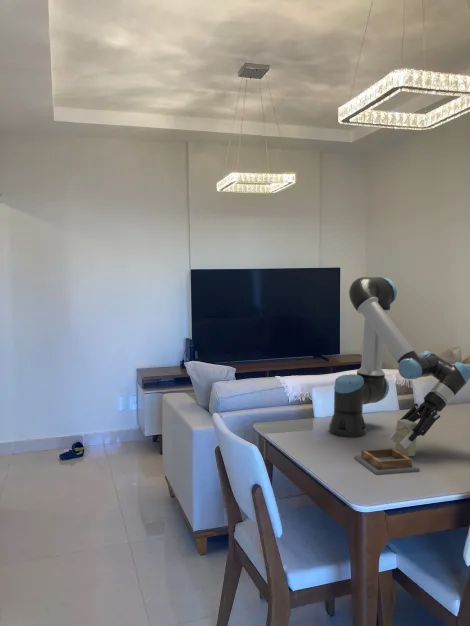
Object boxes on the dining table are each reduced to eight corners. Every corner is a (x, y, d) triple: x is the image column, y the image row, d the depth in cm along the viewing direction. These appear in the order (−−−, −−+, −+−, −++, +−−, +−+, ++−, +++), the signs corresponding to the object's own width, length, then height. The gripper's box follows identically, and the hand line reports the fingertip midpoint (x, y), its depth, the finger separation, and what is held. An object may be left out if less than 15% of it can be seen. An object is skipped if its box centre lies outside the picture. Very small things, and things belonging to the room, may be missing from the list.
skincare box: (395, 452, 202) (396, 419, 201) (404, 450, 203) (405, 418, 202) (406, 457, 196) (407, 424, 195) (416, 455, 198) (417, 423, 197)
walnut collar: (361, 457, 192) (361, 450, 192) (392, 454, 195) (393, 448, 195) (378, 469, 180) (378, 461, 180) (411, 466, 183) (412, 459, 183)
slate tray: (354, 458, 194) (354, 455, 194) (394, 455, 197) (394, 452, 197) (376, 474, 178) (376, 471, 178) (419, 471, 182) (419, 468, 182)
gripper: (461, 410, 192) (418, 458, 190) (429, 398, 211) (389, 441, 209) (448, 396, 191) (405, 444, 188) (417, 385, 210) (377, 428, 207)
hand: (397, 443), depth 198 cm, fingers closed on skincare box, 7 cm apart
